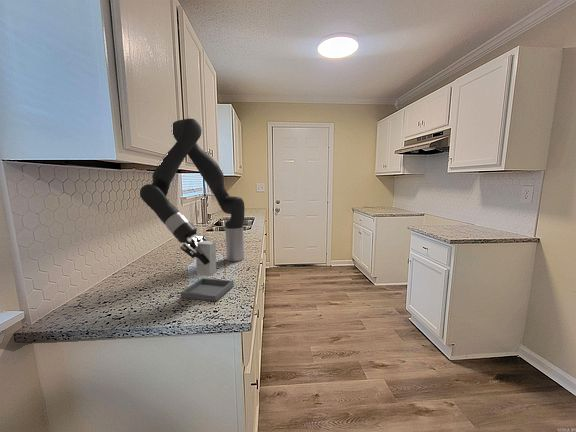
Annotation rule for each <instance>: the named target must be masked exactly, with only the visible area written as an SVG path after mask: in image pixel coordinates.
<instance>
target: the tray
mask: <svg viewBox="0 0 576 432" xmlns="http://www.w3.org/2000/svg"><path fill="white" fill-rule="evenodd" d="M234 285H235V283H234V280H229V279H220V278H219V279H218V278H208V277H207V278H206V277H200V279H198V280H196V281H195V282H194V283H192V284H190V285H189V286H187V287H186V288H185V289H183V290H182V291H180V294H179V295H180V299H181V300H182V299H183V300H190V301H198V302H205V303H206V302H207V303H215V304H216V303H217V302H219V301H220V300H221V299H222V298H223V297H224V296H226V294H227V293H229V292H230V291H231V290H232V289H233V288H234Z"/></svg>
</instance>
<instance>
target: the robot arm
mask: <svg viewBox="0 0 576 432" xmlns="http://www.w3.org/2000/svg"><path fill="white" fill-rule="evenodd" d="M172 124H173V134H172V136H173V135H174V136H173V138H174V140H175V141H176V142H175V143H174V145H173V146H172V147H171V148H170V149H169V150H168V152H167V153H168V155H167V156H166V157H165V158H164V159H163V162H162V163H161V165H159V166H158V165H156V167H155V170H154V171H153V173H152V175H151V178H152V183H147V184H144V185H143V186H142V187H141V188H140V191H139V196H140V198H141V200H142V201H143V202H144V203H145V204H146V206H148V207H149V208H150V209H151V210H152V211H153V212H154V213H155V215H156V216H157V217H158V218H159V219H160V221H161V222H162V223H163V224H164V225H165V227H166V228H167V230H168V231H169V232H170V234H172V235H173V236H174V238H175V239H176V240H177V241H178V242H179V243H181V244H182V245H181V246H180V247H179V248H180V250H181V251H183V252H184V253H185V254H187V255H188V256H189V257H190V258H192V259H195V258H199V260H200V261H201V262H202V263H203V264H204V265H206V264H207V263H208V262H209V260H208V258H207V257H206V256H205V255H204V254H202V252H201V250H200V246H199V245H198V244H197V243H198V242H200V241H210V240H209V238H207V236H206V235H203V236H200V235H198V234H197V231H198V229H197V228H196V227H195V226H194V224H192V223H191V221H190V220H189V219H188V218H187V217H186V216H185V215H184V214H183V213H181V212H180V210H179V209H178V208H177V207H176V206H175V205H174V204H173V203H172V202H171V201H170V200H169V199H168V197H167V196H168V194H169V190H170V185H171V183H172V181H173V179H174V177H175V176H176V173H177V172H178V169H179V168H180V167H181V164H182V163H183V161H184V160H185V158H186V157H188V158H189V159H190V160H191V162H192V164H194V166H195V167H196V169H197V171H198V172H199V174H200V176H201V177H202V178H203V180H204V181H205V183H206V184H207V186H208V187H209V189H210V190H211V192H212V194H213V196H214V198H215V199H216V201H217V202H218V205H219V207H220V209H221V210H222V212H223V213H225V214H228V215H230V219H229V220H227V221H225V223H224V228H225V230H224V231H225V233H224V234H225V249H226V253H225V254H226V256H225V257H226V261H228V262H239V261H242V260H244V259H245V245H244V244H245V240H244V223H245V201H244V200H243V198H242V197H241V196H231V195H230V194H229V193H228V192H227V189H226V188H225V177H224V173H223V170H222V169H221V167H220V165H219V164H218V162H217V161H216V160H215V159H214V158H213V157H212V156H211V155H210V154H208V153H207V152H206V151H205V150H204V149H203V148H202V147H201V146H200V145H199V143H198V141H199V139H200V138H201V137H202V132H203V131H202V127H201V124H200V122H199V121H197V120H196V119H194V118H183V119H179V120H175V121H174V122H173V123H172ZM197 251H198V252H197Z"/></svg>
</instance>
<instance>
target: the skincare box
mask: <svg viewBox="0 0 576 432" xmlns="http://www.w3.org/2000/svg"><path fill="white" fill-rule="evenodd" d="M197 244H198V245H199V246H200V250H201V252H202V254H204V255H205V256H206V257H207V258H208V260H209V262H208V263H207V264H206V265H204V264H203V263H202V262H201V261H200V260H199V258H196V257H195V258H196V259H195V260H196V262H195V263H196V275H198V276H205V277H211V276H213V275H215V274H216V273H217V242H216V241H211V240H209V241H200V242H198V243H197ZM197 252H198V251H197Z"/></svg>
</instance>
